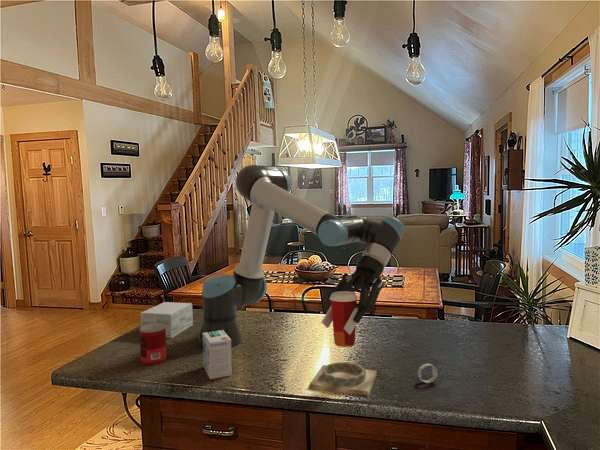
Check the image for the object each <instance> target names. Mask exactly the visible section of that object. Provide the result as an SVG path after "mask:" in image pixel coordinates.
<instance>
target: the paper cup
mask: <svg viewBox="0 0 600 450" xmlns="http://www.w3.org/2000/svg"><path fill="white" fill-rule="evenodd" d="M331 293H332V292H331ZM329 299H330V300H331V303H330V304H331V306H332V319H333V321H332V330H333V339H334V340H333V341H334V345H335V346H336V347H341V348H349V347H353V346H355V345H356V330H357V329H356V327H357V325H356V326H355V328H354V329H353V331H352V333H351V335H350V334H348V333H347V332H346V331H345V330H344V327H345V325H346V323H347V321H348V320H349V318H350V316H351V314H352V312H353V311H354V309H355V308H357V305H358V304H357V302H358V301H357V300H358V299H359V298H358V296H357V294H356V292H349V291H338V292H334V293H332V295H331V297H330V298H329Z"/></svg>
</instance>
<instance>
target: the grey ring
mask: <svg viewBox="0 0 600 450" xmlns="http://www.w3.org/2000/svg"><path fill="white" fill-rule="evenodd" d="M427 367H431V372H432V377H431V378H429V379H427V380H425V379H422V375H423V374H422V370H424V369H425V368H427ZM417 369H418V370H417V377H418V379H419V380H420V381H421V382H423V383H425V384H431V383H433V382H434V381H435V380H436V378H438V370H437V368H436V367H435V366H434V365H433V364H431V363H424V364H422V365H421V366H419V368H417Z"/></svg>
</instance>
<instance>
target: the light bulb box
mask: <svg viewBox="0 0 600 450" xmlns="http://www.w3.org/2000/svg"><path fill="white" fill-rule="evenodd" d="M202 336H203V347H202V362H203V363H202V364H203V365H202V367H203V369H204V371H205V372H206V374H207V377H208V378H209V380H213V379H219V378H225V377H230V376H232V375H233V371H232V370H233V369H232V365H233V363H232V347H231V339H230V338H229V336H228V335H227V334H226V333H225V332H224V331H223V330H219V331H213V332H206V333H202Z"/></svg>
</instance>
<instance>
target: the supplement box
mask: <svg viewBox="0 0 600 450" xmlns="http://www.w3.org/2000/svg"><path fill="white" fill-rule="evenodd" d="M139 315H140V327H142V326H144V325H148V324H164V325H165V329H166V339H172V338H174V337H176V336H177V335H179V334H181V333H182V332H185V330H187V329H188V328H190V327H192V326H193V325H194V319H193V303H191V302H172V301H171V302H170V301H164V302H162V303H159V304H158V305H155V306H152V307H150V308H149V309H146V310H144V311H142V312H140V314H139Z"/></svg>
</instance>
